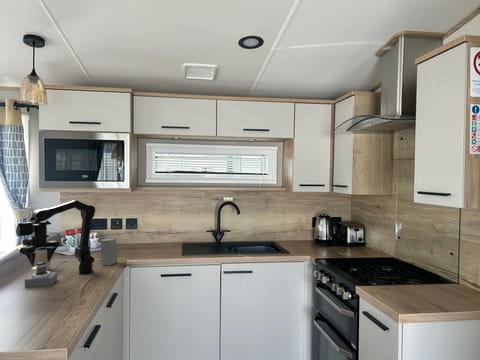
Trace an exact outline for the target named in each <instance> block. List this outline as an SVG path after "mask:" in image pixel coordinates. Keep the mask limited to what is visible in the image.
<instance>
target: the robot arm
mask: <svg viewBox="0 0 480 360" xmlns="http://www.w3.org/2000/svg"><path fill="white" fill-rule="evenodd" d="M72 209H76V210H77V211H80V217H81V220H82V222H81V228H80V229H81V230H80V236H79V237H80V238H79V239H80V240H79V245H78V246H77V247H75V248H74V252H73V253H74V255H75V256H74V257H75V258H76V259H77V260H78V262H79V265H78V274H79V275H87V274H92V273H94V270H95V269H94V268H93V265H94V264H93V263H94V262H95V257H94V256H92V255H91V249H90V245H89V244H90V234H91V228H92V227H91V224H92V220H93V218H94V217H95V213H96V207H95V206H94V205H91V204H86V203H84V202H81V201H79V200H76V199H73V200H71V201H68V202H64V203H62V204H61V203H60V204H59V205H55V206H53V207H46V208H40V209H36V210H34V211H33V212H32V213H31V214H32V216H31V217H30V219H29V220H28V221H27V222H18V223H17V226H16V229H15V234H16V236H17V237H25V236H31V235H33V236H31V239H29V238H25V239H22V246H23V247H22V246H21V247H20V248H19V254H22V255H24V256H26V257H27V259H28V262H29V263H30V266H32V267H33V266H35V262H36V261H35V260H36V250H38V249H42V248H46V250H47V260H48V261H50V259H51V260H52V258H53V255H54V254H55V252H56V250H57V249H59V247H60V244H61V243H60V242H59V241H57V240H50V241H48V238H49V237H50V236H49V234H48V233H47V232H48V225H52V223H51V222H50V221H49V219H51V218H52V217H53V216H55V215H57V214H60V213H63V212H66V211H69V210H72ZM42 246H43V247H42ZM38 247H39V248H38Z"/></svg>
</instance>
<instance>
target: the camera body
mask: <svg viewBox="0 0 480 360" xmlns="http://www.w3.org/2000/svg"><path fill="white" fill-rule="evenodd" d="M56 281H58V273H57V272H54V271H53V272H51V271H50V270H46V274H42V275H37V272H34V273H33V272H32V274H31V275H29V276H28V277H27V278H25V279H24V288H33V287H49V286H53V284H54V283H56Z"/></svg>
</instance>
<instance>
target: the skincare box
mask: <svg viewBox="0 0 480 360" xmlns="http://www.w3.org/2000/svg"><path fill="white" fill-rule="evenodd" d="M117 251H118V250H117V238H106V239H105V238H103V239H102V240H100V263H101V266H111V265H115V263H118V258H117V257H118V255H117Z"/></svg>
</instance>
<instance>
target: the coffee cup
mask: <svg viewBox="0 0 480 360" xmlns="http://www.w3.org/2000/svg"><path fill="white" fill-rule="evenodd" d="M42 247H43V246H42ZM38 248H39V247H38ZM35 253H36V254H35V259H36V263H38V262H46V271H50V269H51V261H52V258H51V259H50V261H48V260H47V250H46V248H42V249H38V250H35Z"/></svg>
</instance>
